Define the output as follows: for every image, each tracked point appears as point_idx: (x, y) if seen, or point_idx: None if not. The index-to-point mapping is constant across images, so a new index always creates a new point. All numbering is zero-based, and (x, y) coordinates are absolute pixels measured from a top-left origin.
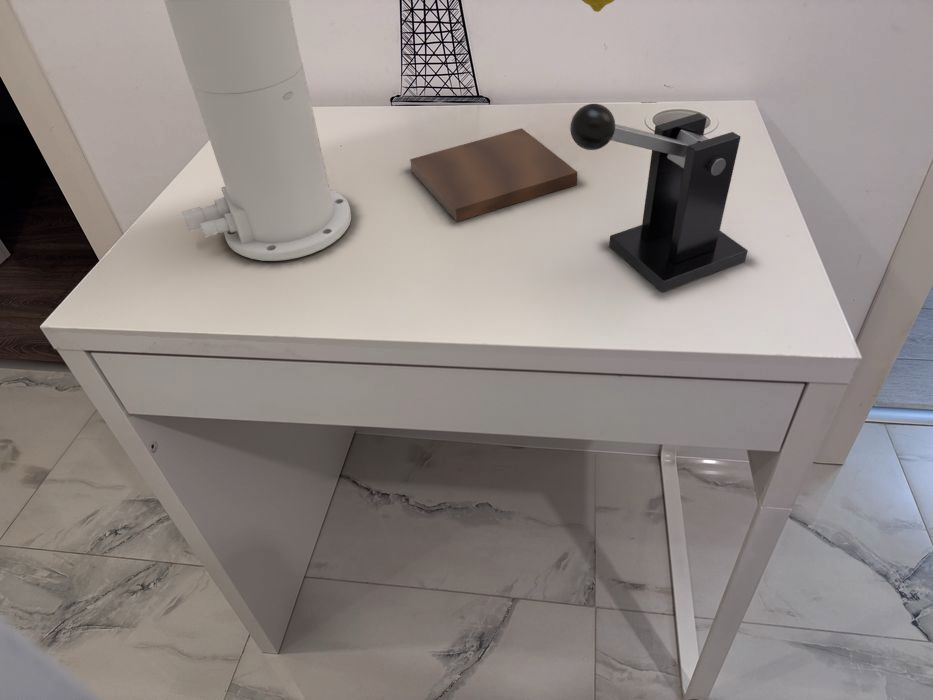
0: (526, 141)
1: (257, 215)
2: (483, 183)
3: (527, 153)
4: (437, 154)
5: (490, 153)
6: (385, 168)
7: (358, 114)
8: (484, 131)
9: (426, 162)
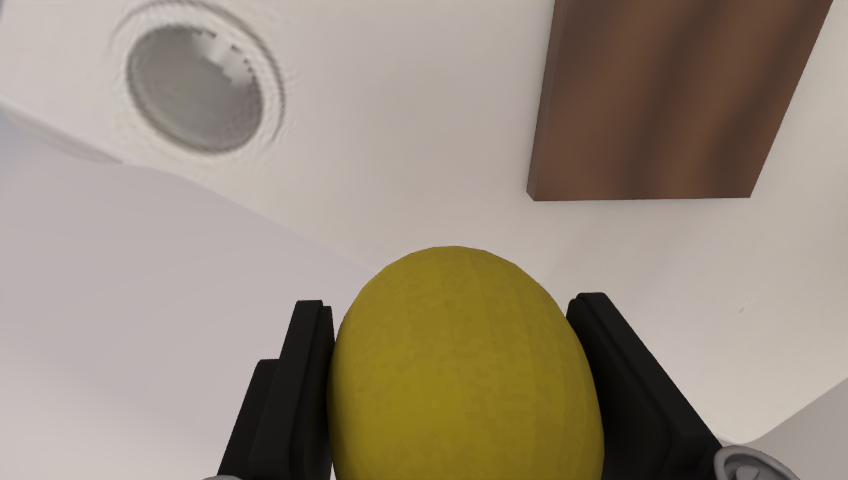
0: (563, 148)
1: None
2: (737, 37)
3: (594, 102)
4: (709, 188)
5: (643, 142)
6: (750, 219)
7: None
8: (554, 252)
9: (742, 171)
